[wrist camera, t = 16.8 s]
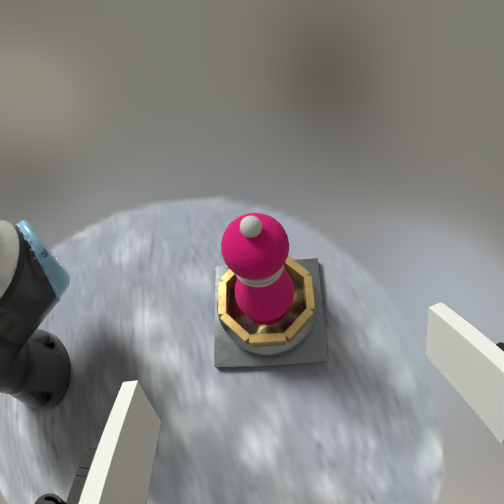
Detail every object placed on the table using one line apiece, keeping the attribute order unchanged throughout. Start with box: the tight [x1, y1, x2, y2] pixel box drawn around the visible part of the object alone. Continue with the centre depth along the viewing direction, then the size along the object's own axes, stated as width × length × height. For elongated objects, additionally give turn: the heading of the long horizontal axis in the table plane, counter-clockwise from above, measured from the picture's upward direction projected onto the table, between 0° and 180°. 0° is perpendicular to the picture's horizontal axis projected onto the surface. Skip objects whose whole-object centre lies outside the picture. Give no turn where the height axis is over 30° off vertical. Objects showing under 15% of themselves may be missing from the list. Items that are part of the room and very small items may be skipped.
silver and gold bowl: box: [215, 256, 328, 368], centre depth 43 cm, size 16×16×8 cm
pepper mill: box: [221, 213, 294, 325], centre depth 33 cm, size 7×7×20 cm
